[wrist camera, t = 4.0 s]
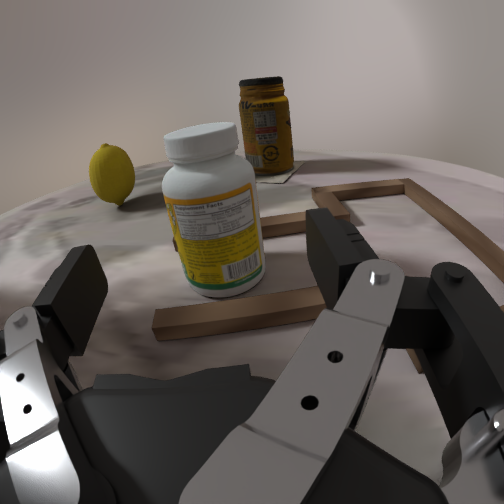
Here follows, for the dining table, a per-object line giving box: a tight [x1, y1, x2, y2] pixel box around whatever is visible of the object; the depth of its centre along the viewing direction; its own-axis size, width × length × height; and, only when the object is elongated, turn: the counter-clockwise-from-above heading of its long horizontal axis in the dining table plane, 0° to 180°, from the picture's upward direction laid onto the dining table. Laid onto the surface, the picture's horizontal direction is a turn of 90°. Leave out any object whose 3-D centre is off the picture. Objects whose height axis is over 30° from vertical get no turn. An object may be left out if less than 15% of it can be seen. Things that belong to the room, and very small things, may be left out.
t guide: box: [152, 178, 504, 373], centre depth 21 cm, size 24×21×1 cm
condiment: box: [239, 76, 305, 183], centre depth 36 cm, size 7×8×12 cm
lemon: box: [89, 143, 135, 205], centre depth 34 cm, size 6×6×8 cm
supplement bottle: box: [162, 122, 266, 298], centre depth 18 cm, size 5×5×10 cm
